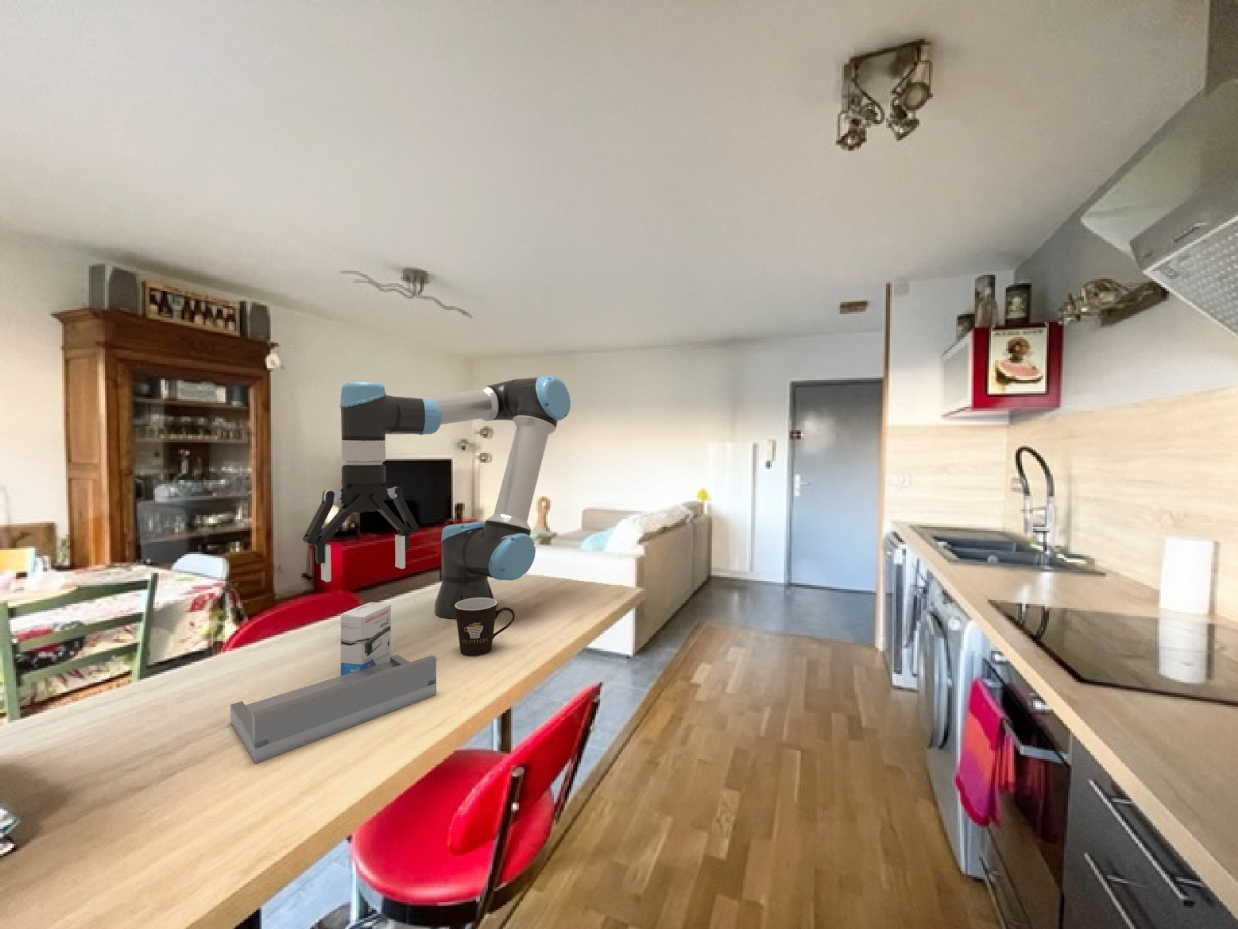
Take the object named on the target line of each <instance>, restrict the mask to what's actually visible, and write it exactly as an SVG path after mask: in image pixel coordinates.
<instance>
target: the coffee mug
mask: <svg viewBox="0 0 1238 929" xmlns="http://www.w3.org/2000/svg"><path fill="white" fill-rule="evenodd" d="M497 608H498V601H497V600H496V599H495V598H494V599H491V598H470V599H465V600H462V601H459V602H457V603H456V604H455V611H456V628H457V635H458V642H459V650H460V654H461V655H462V656H466V657H479V656H483V655H487V654H489V653H491V652H492V648H493V641H494V639H495V637H496V636H498V635H499V634H500V633H502V632H504V631H506V629H508V628H509V627H510V626H511V624H513V622H514V621H515V618H516V615H515V612H514V610H513V609H512V608H510V607H501V608H499V609H497ZM503 611H508V612H510V613H511V615H512V618H511V619H510V621H509V622H508V623H507V624H506V625H505V626H504V627H502V628H500V629H499V630H498V631H496V632H495V625H496V624H495V623H496V619H497V618H498V617H499V615H500V613H501V612H503Z"/></svg>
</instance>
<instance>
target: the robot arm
mask: <svg viewBox="0 0 1238 929" xmlns="http://www.w3.org/2000/svg"><path fill="white" fill-rule="evenodd" d="M339 408H340V423H341V424H340V426H341V427H340V428H341V461H342V462H343V463H345V464H343V465H342V466H341V489H340V491H332V490H328V489H325V490H324V491H322V496H321V503H320V504H319V506H318V509H317V510H316V512H315V514H314V516H313V518H312V520H311V521H310V524H309V526H308V528H307V530H306V532H305V533H304V536H303V537H302V541H303V542H304V543H307V544H309V545H314V554H315V555H314V556H315V557H314V559H315V562H316V563H317V564H318V565H319V564H320V575H321V576H320V579H321V580H322V581H324V582H326V583H329V582H331V581H332V562H331V561H332V559H331V558H332V556H331V555H332V554H331V553H332V552H331V550H332V548H331V546H332V545H330V544H328V542H329V541H330V540H331V538H332V537H333V536H334V535H335V534H336V532H337V531H338V530H339V529H340V527H341V526H342V525H343V523H344V522H345V521H346V520H347V519H348V518H349V517H351V515H352V514H353V513H357V514H363V513H365V512H368V513H374V512H376V511H377V512H379V513H380V514H381V515H382V516H383V517H384V519H386V521H387V522H388V523H389V524H390V525H391V526H392V527H393V528H394V529H395V530H396V531H397V532H398V534H394V536H395V537H394V543H395V544H394V545H395V546H394V548H395V553H394V554H395V564H394V565H395V568H398V569H400V570H402V569H405V568H406V552H407V551H409V549H410V536H411V535H412V533H413V532H417V531H418V530H419V524H418V523H417V521H416V520H415V518H414V516H413V514H412V512H411V510H410V508H409V506H408V505H407V504H408V503H406V500H405V498H404V493H403V488H402V487H401V486H392V487H391V488H387V487H386V486H387V485H386V481H387V478H386V477H387V474H386V472H387V470H386V467H387V466H385V464H383V463H384V462H385V461H386V460H387V459H386V458H387V457H386V456H387V455H386V453H387V452H386V435H419V436H423V435H432V434H435V433H437V431H439V429H440V427H441V425H448V424H453V423H454V424H455V423H461V422H468V421H473V420H475V421H476V420H480V419H481V420H482V421H484V422H491V421H512V422H513V423H514V425H515V427H516V428H515V432H514V436H513V440H512V443H511V447H510V452H509V455H508V460H507V463H506V465H505V466H506V467H505V470H504V474H503V477H502V481H501V485H500V490H499V493H498V497H497V500H496V504H495V509H494V511H493V512H494V513H493V515H491V516H490V517H488V518H486V519H485V521H473V522H465V523H457V524H450V525H446V526H444V527H443V528H442V531H441V539H440V543H441V584H440V587H439V591H438V594H437V595H436V600H435V603H434V614H435V613H436V614H435V615H436V616H438V617H440V616H441V617H440V618H446V619H453V620H455V619H456V611H455V604H456V603H457V602H459V601H462V600H465V599H470V598H491V599H494V600H495V597H494V595H493V591H492V588H491V586H490V582H489V578H491V579H492V578H493V579H494V580H499V581H516V580H518V579H520V578H522V577H523V576H524V575H525V574H527V573H528V571H529V570H530V568H531V567H532V565H533V563H534V561H535V557H536V549H537V548H536V546H535V541H534V539H533V537H531V533H532V529H531V527H530V525H529V523H528V520H529V515H530V511H531V507H532V503H533V500H534V495H535V491H536V487H537V484H538V479H539V475H540V470H541V467H542V463H543V460H544V459H543V458H544V456H545V455H544V454H545V451H546V445H547V441H548V438H549V435H551V434H553V433H554V432H556V429H557V425H558V421H562V420H564V419H565V418H566V417H568V415H569V413H570V409H571V396H570V393H569V391H568V388H567V386H566V384H565V383H564V382H563V381H562V380H561V379H560V378H558V377H556V376H550V375H549V376H545V375H541V376H539V377H526V378H516V379H511V380H510V379H509V380H506V381H502V382H499V383H494V384H488V385H481V386H479V387H478V388H476V389H475V390H467V391H458V392H448V393H439V394H438V393H437V394H427V395H417V396H408V397H404V396H395V395H394V396H392V395H389V394H387V392H386V388H385V386H384V385H383V384H382V383H379V382H378V383H377V382H374V381H372V382H371V381H358V380H357V381H348V382H345V383H344V384H342V386H341V393H340V404H339ZM388 496H389V498H390V499H391V500H392V501H393V503H394V505H395V507H396V509H397V511H398V512H399V515H400V516H401V519H402V520H401V519H400V518H398V516H397V515H396V514H395V513H394V512H393V511H392V510H391V509H390V507H389V506H388V505H387V504H386V503H385V502H384V501H385V500H386V499H387V497H388ZM338 499H340V500H341V501H342V502H343V504H342V506H340V508H339V509H338V511H337V512H336V514H334V516H333V517H332V518H331V520H330V521H329V522H328V523H327V524H326V525H325V526H324V524H325V522H326V520H327V518H328V516H329V514H330V512H331V510H332V508H333V506H334V504H335V503H337V501H338ZM403 522H404V523H403ZM323 526H324V527H323ZM322 528H323V529H322ZM321 529H322V530H321Z"/></svg>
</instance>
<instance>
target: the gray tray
mask: <svg viewBox="0 0 1238 929" xmlns="http://www.w3.org/2000/svg"><path fill="white" fill-rule="evenodd" d="M436 695H437V657H435V656H434V655H429V656H425V657H422V658H419V659H416V660H415V659H414V660H412V661H409V660H407V659H405V658H404V657H402V656H401V655H399V654H395V655H391V657H390V661H388V662H385V663H382V664H378V665H375V666H372V667H369V668H365V669H362V670H359V671H356V672H352V673H349V674H346V675H342V676H341V675H340V676H336V677H333V678H328V679H327V680H324V681H320V682H317V683H314V684H310V685H306V686H303V687H300V688H296V689H294V690H291V691H287V692H283V693H281V694H277V695H275V696H271V697H268V698H265V699H261V700H257V701H254V702H252V703H249V704H245V703H244V701H238V702H234V703H231V704H230V706H229V708H230V724H231V725H232V727H233V729H234V730H235V732H236V734H237V736H238V737H239V738H240V740H241V742H242V743H243V745H244V747H245V749H246V751H247V752H248V754H249V756H250V757H251V759H252V760H253V762H254V764H258V763H261V762H263V761H266V760H268V759H271V758H273V757H276V756H279V755H281V754H284V753H287V752H289V751H292V750H295V749H298V748H300V747H302V746H305V745H308V744H310V743H313V742H316V741H318V740H322V739H325V737H328V736H331V735H334V734H337V733H339V732H341V731H345V730H348V729H351V728H353V727H355V726H358V725H361V724H363V723H365V722H368V721H371V720H373V719H376V718H379V717H381V716H384V715H386V714H389V713H392V712H394V711H397V710H400V709H403V708H405V707H409V705H412V704H415V703H418V702H421V701H423V700H426V699H428V698H430V697H434V696H436Z"/></svg>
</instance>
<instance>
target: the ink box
mask: <svg viewBox="0 0 1238 929" xmlns="http://www.w3.org/2000/svg"><path fill="white" fill-rule="evenodd" d="M391 606H392V605H391V604H390V603H383V602H372V601H371V602H367V603H365V604H363V605H360V606H357V607H355V608H352V609H350V610H347V611H345V612H342V614H341V615H340V676H342V675H346V674H349V673H352V672H356V671H359V670H362V669H365V668H369V667H372V666H375V665H378V664H382V663H385V662H388V661H390V657H391V656H392V649H391V648H392V643H391V642H392V641H391V640H392V637H391V636H392V635H391V634H392V633H391V632H392V631H391V628H392V627H391V626H392V625H391V624H392V623H391V621H392V614H391V613H392V612H391V611H392V610H391Z"/></svg>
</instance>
